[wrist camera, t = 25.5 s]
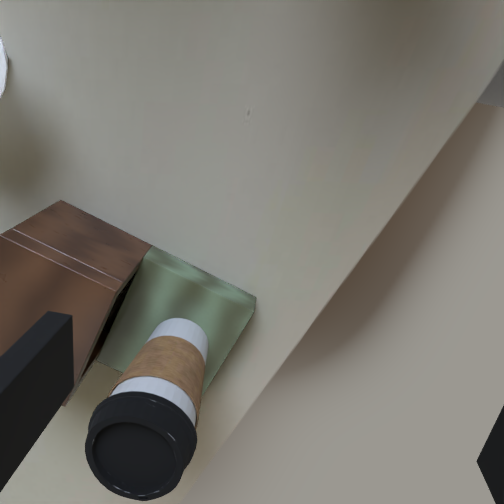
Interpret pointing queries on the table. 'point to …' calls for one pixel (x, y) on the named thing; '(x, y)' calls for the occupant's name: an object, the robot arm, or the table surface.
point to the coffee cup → (151, 415)
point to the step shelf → (109, 290)
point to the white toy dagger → (3, 67)
